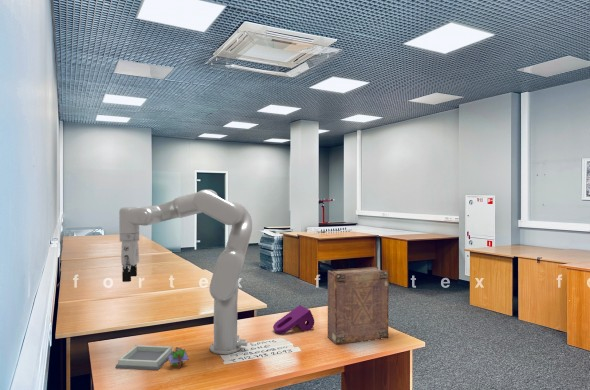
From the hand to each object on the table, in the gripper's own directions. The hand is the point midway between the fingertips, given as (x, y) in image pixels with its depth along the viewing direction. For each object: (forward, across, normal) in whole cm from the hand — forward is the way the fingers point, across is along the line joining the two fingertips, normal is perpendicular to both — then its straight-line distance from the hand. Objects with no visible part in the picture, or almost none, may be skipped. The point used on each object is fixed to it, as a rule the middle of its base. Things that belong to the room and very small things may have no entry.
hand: (129, 278), depth 166 cm
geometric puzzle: (+29, -21, -22) cm, 42 cm away
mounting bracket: (+29, +12, -69) cm, 76 cm away
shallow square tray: (+28, -14, -9) cm, 33 cm away
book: (+29, -2, -96) cm, 101 cm away
